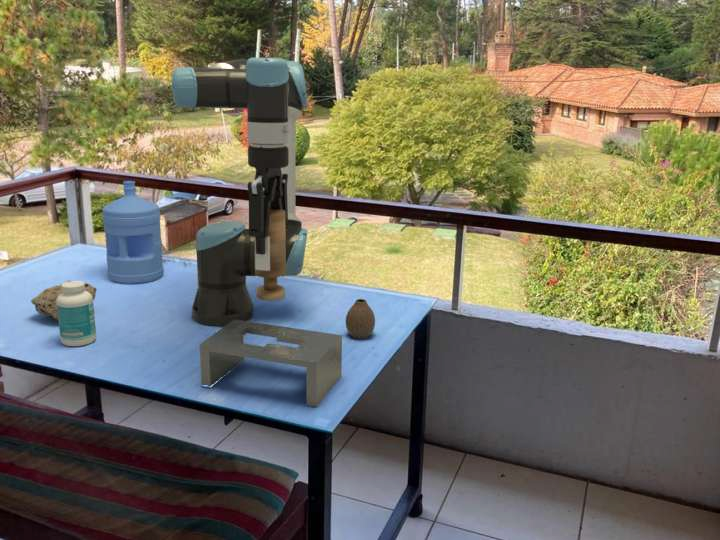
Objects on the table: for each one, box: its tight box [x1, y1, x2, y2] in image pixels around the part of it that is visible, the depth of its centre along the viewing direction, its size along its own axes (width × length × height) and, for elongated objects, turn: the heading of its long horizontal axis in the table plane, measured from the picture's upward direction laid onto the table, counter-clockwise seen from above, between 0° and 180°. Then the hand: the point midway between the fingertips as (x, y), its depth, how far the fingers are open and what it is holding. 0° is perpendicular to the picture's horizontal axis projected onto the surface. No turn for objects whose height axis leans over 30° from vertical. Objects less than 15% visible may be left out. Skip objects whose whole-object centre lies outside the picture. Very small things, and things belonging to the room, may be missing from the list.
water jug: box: [101, 180, 165, 285], centre depth 191 cm, size 16×16×28 cm
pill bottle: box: [56, 280, 97, 347], centre depth 148 cm, size 8×7×14 cm
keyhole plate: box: [199, 319, 343, 408], centre depth 132 cm, size 24×14×9 cm, turn 72°
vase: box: [345, 298, 376, 340], centre depth 156 cm, size 7×7×9 cm
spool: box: [254, 209, 286, 302], centre depth 129 cm, size 6×6×17 cm
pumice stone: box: [30, 280, 97, 321], centre depth 163 cm, size 14×12×8 cm
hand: (269, 264), depth 130 cm, fingers closed on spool, 6 cm apart
